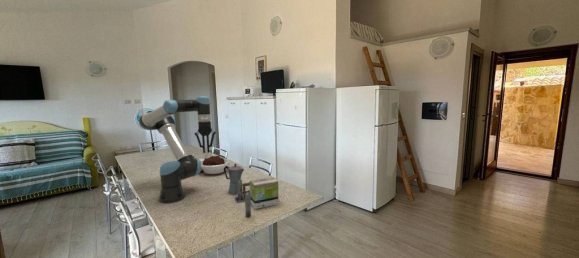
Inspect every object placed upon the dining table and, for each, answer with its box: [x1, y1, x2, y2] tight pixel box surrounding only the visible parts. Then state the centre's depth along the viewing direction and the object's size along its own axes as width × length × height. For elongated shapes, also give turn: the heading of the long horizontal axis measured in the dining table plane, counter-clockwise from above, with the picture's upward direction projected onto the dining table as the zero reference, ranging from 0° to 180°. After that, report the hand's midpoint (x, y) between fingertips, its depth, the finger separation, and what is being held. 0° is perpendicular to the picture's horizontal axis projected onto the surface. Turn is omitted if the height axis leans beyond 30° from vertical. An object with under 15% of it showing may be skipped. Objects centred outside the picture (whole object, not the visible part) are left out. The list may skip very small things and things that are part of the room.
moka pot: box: [223, 163, 245, 195], centre depth 168 cm, size 10×15×20 cm, turn 78°
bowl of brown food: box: [200, 155, 230, 175], centre depth 213 cm, size 25×25×15 cm
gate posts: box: [234, 179, 252, 218], centre depth 145 cm, size 6×27×13 cm, turn 22°
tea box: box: [249, 176, 279, 210], centre depth 149 cm, size 15×10×15 cm, turn 118°
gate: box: [242, 181, 250, 198], centre depth 160 cm, size 2×18×9 cm, turn 119°
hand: (206, 157), depth 158 cm, fingers closed
